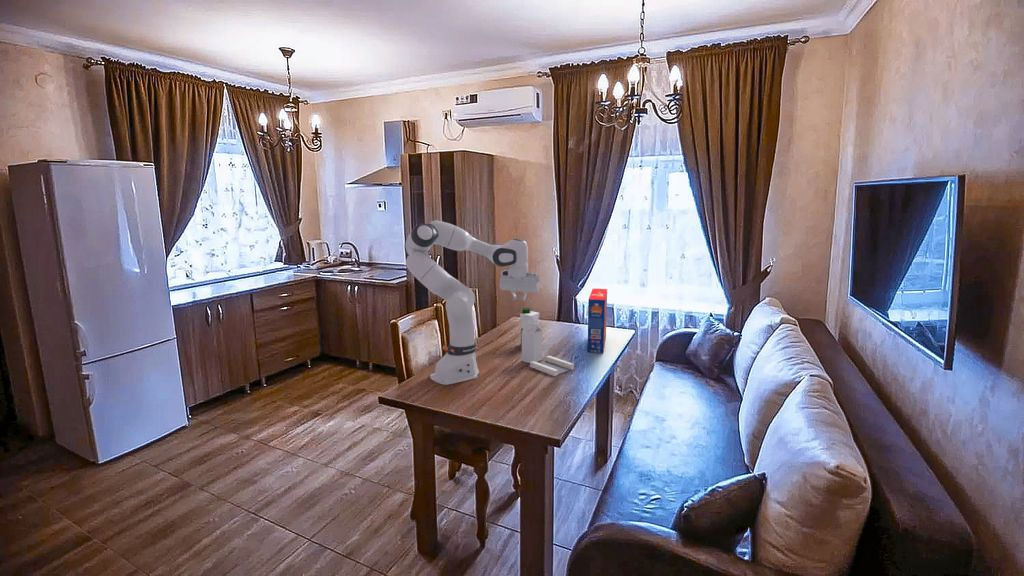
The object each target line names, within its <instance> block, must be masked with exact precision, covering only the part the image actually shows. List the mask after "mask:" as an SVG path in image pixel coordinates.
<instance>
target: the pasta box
mask: <svg viewBox="0 0 1024 576" xmlns="http://www.w3.org/2000/svg"><path fill="white" fill-rule="evenodd" d="M589 294H590V295H589V296H588V304H587V305H588V307H587V311H588V312H587V313H588V316H587V318H588V319H587V354H589V353H592V354H604V352H605V346H606V340H607V313H608V312H607V309H608V308H607V307H608V289H607V288H592V290H591V291H590V293H589Z"/></svg>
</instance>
